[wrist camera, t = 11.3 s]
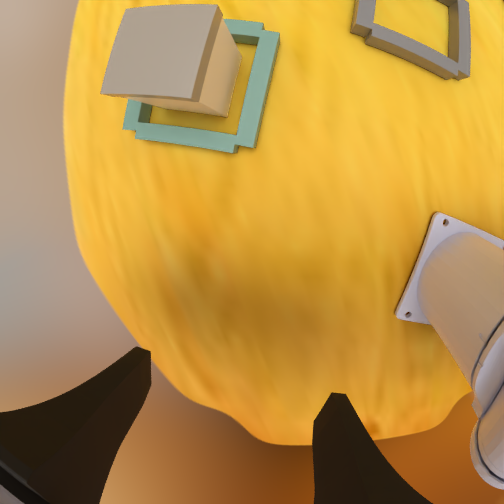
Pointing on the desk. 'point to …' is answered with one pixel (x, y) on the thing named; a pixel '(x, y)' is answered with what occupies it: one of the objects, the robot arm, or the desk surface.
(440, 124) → the desk surface
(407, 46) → the socket
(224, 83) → the plug
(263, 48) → the socket
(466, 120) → the desk surface
